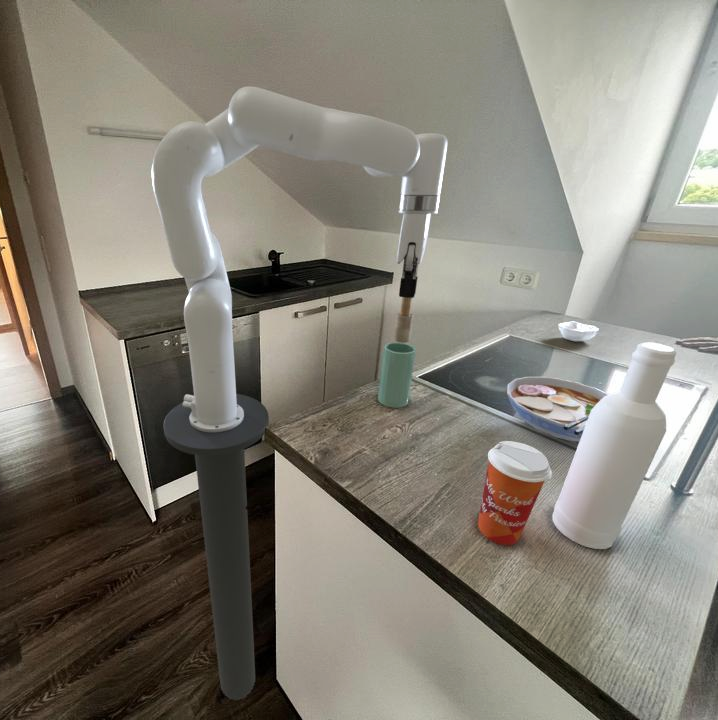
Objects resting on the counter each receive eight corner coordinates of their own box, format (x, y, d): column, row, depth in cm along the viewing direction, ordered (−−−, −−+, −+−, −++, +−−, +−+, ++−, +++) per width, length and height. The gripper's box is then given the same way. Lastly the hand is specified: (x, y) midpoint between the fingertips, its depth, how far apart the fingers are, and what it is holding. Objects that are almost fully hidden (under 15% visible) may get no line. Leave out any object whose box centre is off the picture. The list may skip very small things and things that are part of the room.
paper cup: (462, 530, 59) (481, 455, 53) (481, 503, 64) (500, 432, 58) (518, 562, 54) (546, 483, 48) (534, 530, 59) (561, 455, 53)
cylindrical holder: (375, 404, 93) (381, 351, 88) (380, 391, 100) (386, 340, 94) (406, 410, 91) (414, 355, 85) (409, 396, 97) (417, 344, 92)
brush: (392, 341, 88) (401, 270, 82) (394, 336, 91) (402, 267, 85) (409, 343, 87) (418, 271, 80) (410, 338, 90) (420, 268, 83)
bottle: (617, 560, 54) (712, 365, 42) (551, 535, 58) (621, 350, 46) (610, 522, 60) (691, 343, 48) (551, 502, 64) (612, 331, 52)
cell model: (602, 345, 130) (609, 326, 128) (566, 345, 131) (572, 325, 128) (582, 335, 140) (588, 317, 137) (548, 334, 140) (553, 316, 137)
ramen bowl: (537, 394, 99) (546, 364, 95) (648, 440, 80) (663, 406, 77) (473, 419, 87) (481, 387, 84) (585, 480, 69) (600, 442, 66)
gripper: (403, 203, 85) (394, 286, 93) (394, 206, 72) (384, 302, 79) (439, 204, 83) (426, 289, 90) (437, 207, 69) (422, 306, 77)
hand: (407, 294), depth 85 cm, fingers closed on brush, 2 cm apart
